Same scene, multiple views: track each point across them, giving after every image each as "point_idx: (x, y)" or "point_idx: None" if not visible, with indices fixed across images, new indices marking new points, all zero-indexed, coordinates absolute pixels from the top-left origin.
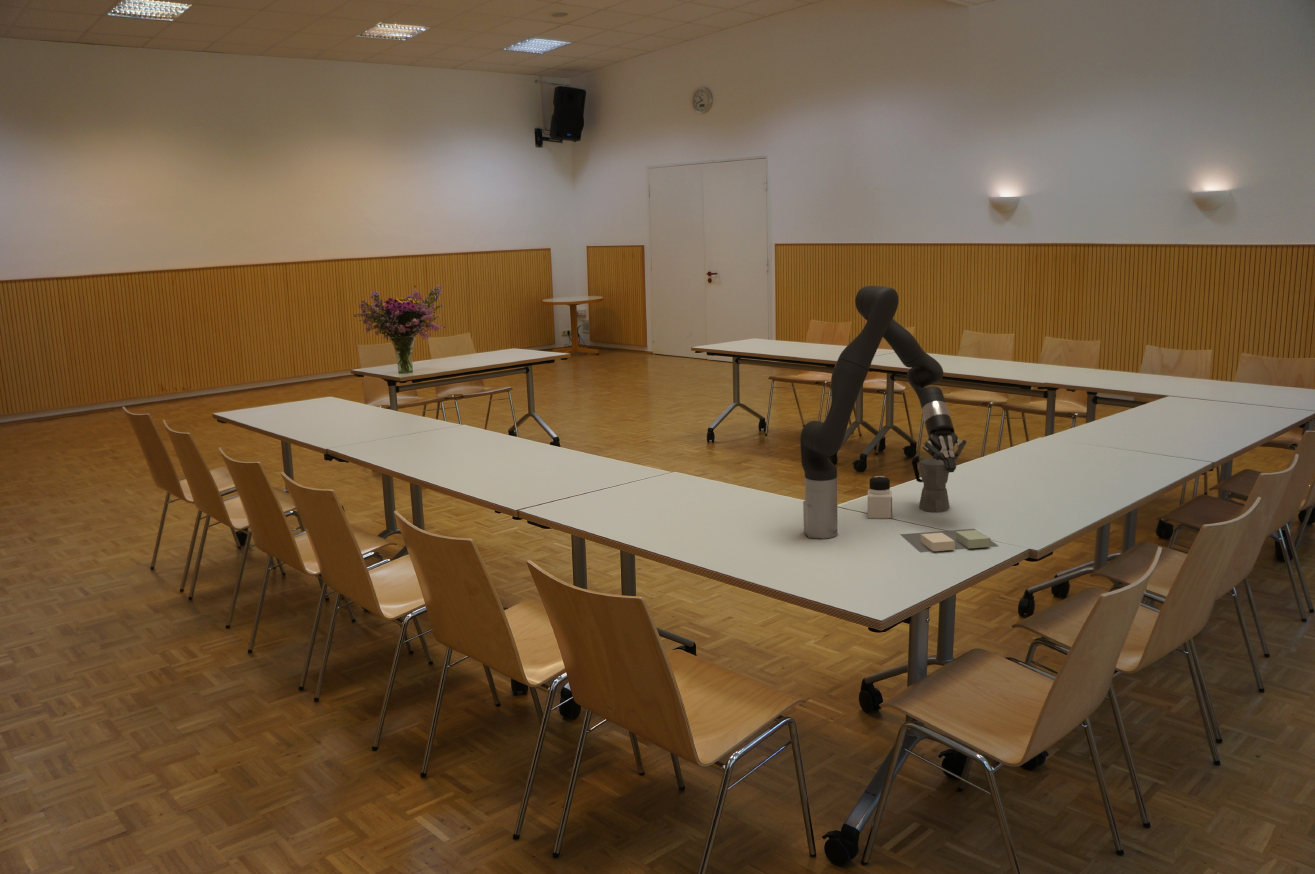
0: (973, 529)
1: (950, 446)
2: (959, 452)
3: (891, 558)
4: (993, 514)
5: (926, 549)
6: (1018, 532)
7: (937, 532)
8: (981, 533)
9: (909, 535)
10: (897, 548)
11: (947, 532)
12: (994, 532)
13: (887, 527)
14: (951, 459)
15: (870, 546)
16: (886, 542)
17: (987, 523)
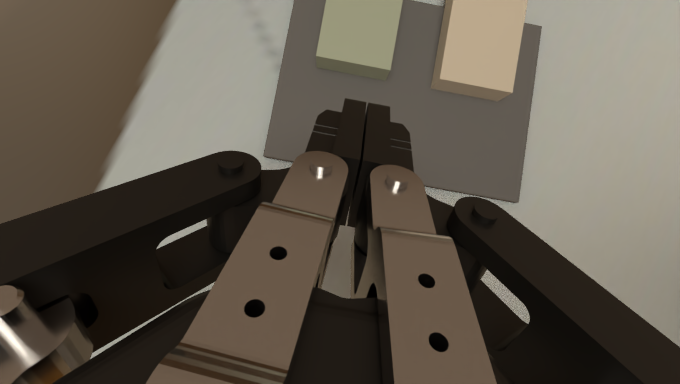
0: (270, 149)
1: (298, 241)
2: (195, 171)
3: (627, 34)
4: None
5: None
6: (144, 84)
7: None
8: (327, 9)
9: (496, 178)
10: (573, 102)
11: None
12: (215, 115)
13: (508, 305)
14: (348, 145)
15: (639, 151)
16: (579, 165)
17: None
